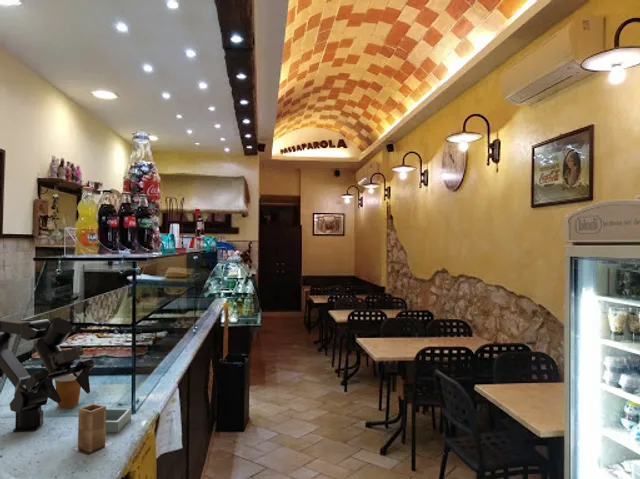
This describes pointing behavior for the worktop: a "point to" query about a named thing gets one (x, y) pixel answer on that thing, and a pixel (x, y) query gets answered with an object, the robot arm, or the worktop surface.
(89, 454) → the stake base
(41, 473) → the worktop surface
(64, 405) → the disposable coffee cup
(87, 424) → the sleeve
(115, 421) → the tray
